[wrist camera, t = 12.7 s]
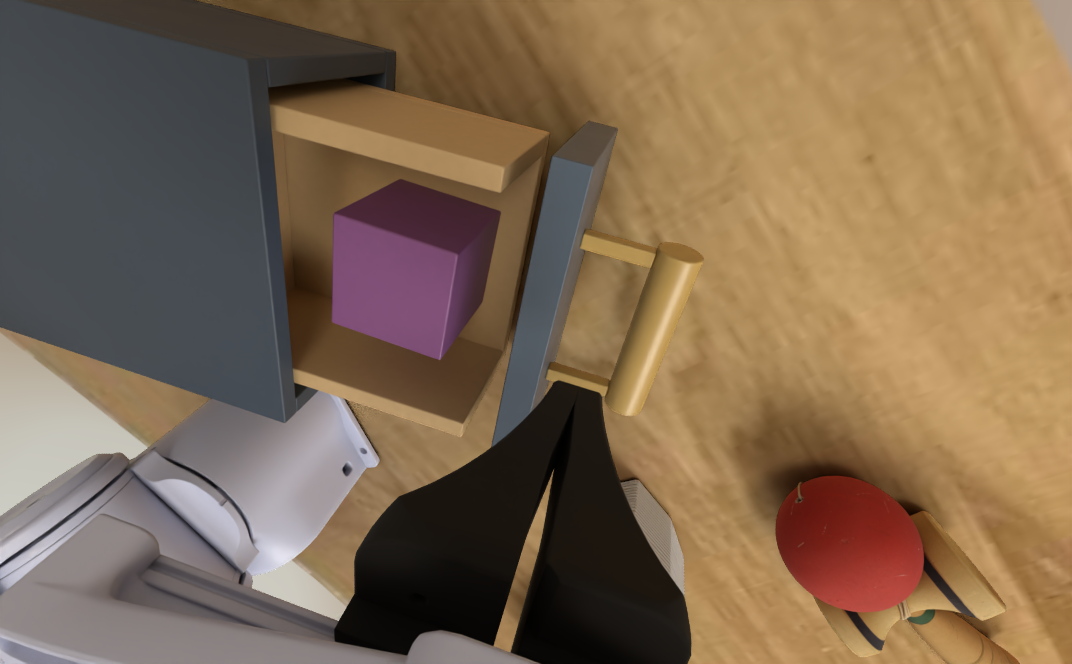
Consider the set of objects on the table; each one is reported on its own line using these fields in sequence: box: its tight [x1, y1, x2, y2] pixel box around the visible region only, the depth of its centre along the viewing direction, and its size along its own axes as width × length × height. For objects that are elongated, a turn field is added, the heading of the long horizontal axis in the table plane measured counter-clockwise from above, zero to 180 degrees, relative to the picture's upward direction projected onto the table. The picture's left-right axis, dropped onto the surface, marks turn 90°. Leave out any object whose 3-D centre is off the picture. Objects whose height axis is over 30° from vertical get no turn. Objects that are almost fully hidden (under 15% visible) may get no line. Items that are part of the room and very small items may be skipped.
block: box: [332, 179, 501, 360], centre depth 20 cm, size 5×5×5 cm
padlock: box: [621, 480, 685, 598], centre depth 27 cm, size 7×4×10 cm, turn 30°
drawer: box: [268, 78, 704, 447], centre depth 20 cm, size 19×12×7 cm, turn 78°
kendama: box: [776, 476, 1020, 664], centre depth 26 cm, size 8×6×18 cm
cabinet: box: [0, 0, 396, 423], centre depth 21 cm, size 16×14×9 cm
